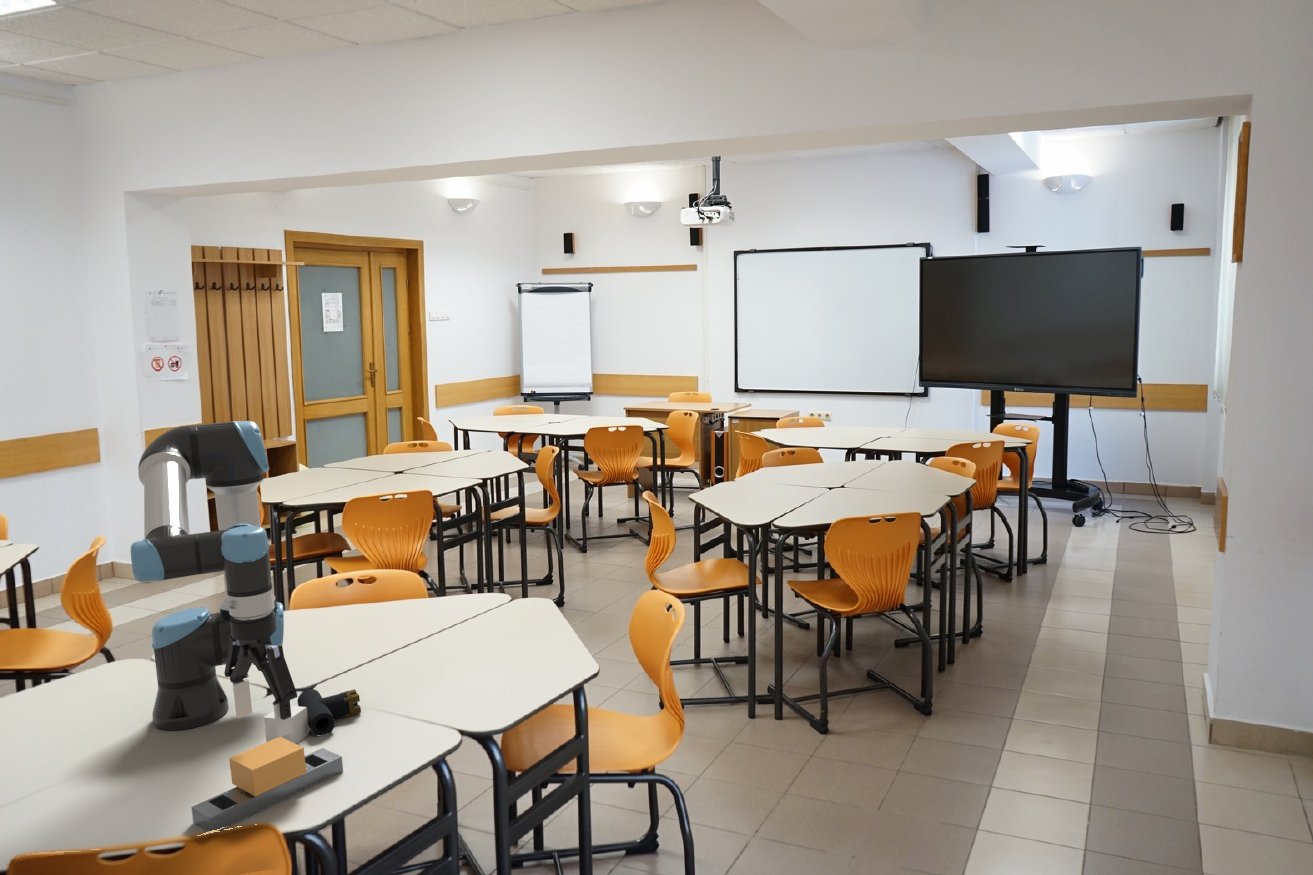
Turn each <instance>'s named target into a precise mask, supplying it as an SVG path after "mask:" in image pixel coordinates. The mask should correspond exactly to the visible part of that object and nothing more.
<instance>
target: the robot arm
mask: <svg viewBox="0 0 1313 875" xmlns="http://www.w3.org/2000/svg"><path fill="white" fill-rule="evenodd" d="M266 452H267V451H266V448H265V443H264V440H263V436H262V433H261V430H260V427H259V425H258V424H257V423H256V422H254V421H251V420H238V421H237V420H232V421H225V422H222V421H221V422H213V423H205V424H204V423H203V424H195V425H194V424H192V425H181V426H177V427H173V428H171V429H169V430H167V431H165V432H164V433H162V434H160V435H159V436H157V437H156V438H155V439H154V440H153V441H152V442H150V444H149V445H148V446H147V447H146V449H145V450H144V451H143V453H142V454H141V457H140V460H139V462H138V472H137V473H138V479H139V481H140V483H141V484H142V486H143V493H144V494H143V500H144V501H143V507H144V509H143V510H144V512H143V518H144V519H143V520H144V527H143V528H144V529H143V531H144V532H143V533H144V534H143V535H144V536H143V539H142V540H139V541H135V542H132V543H131V545H130V558H131V560H130V561H131V568H132V570H131V571H132V575H133V578H134V579H135V581H137V582H138V583H145V582H146V583H148V582H162V581H166V580H171V579H178V578H186V577H192V576H196V575H205V574H214V573H219V572H220V573H221V572H222V573H223V582H224V589H225V590H224V591H225V597H224V599H223V600H222V601H221V602H220V603H219V612H215V613H211V611H210V610H209V608H207V607H205V606H204V607H203V606H200V607H191V608H190V607H189V608H185V609H181V610H179V611H175V612H173V613H171V614H170V613H169V615H165V616H164V617H163V618H161V619H159V620H158V621H156V622H155V624H154V625H153V627H152V629H151V633H152V634H151V636H152V643H151V647H152V649H153V652H154V655H153V656H154V662H155V671H156V679H157V692H156V697H155V701H154V705H153V709H152V722H153V725H155V726H154V727H155V728H158V729H160V730H164V731H179V730H180V731H181V730H188V729H192V728H193V729H194V728H197V727H198V728H199V727H200V726H204V725H207V724H210V723H212V722H214V721H217V720H219V719H220V718H221V717H223V716H224V715H225V714H227V712H228V711H229V708H230V707H229V699H228V696H227V694H226V692H225V690H224V688H223V687H222V685H221V683H220V681H219V679H218V677H217V669H216V667H219V666H223V665H224V666H225V668H224V673H223V674H224V676H225V677H226V678H229V680H230V683H232V690H233V698H234V707H235V708H234V709H235V716H236V718H238V719H240V718H242V717H244V716H247V715H249V714H253V707H252V706H253V705H252V698H251V688H250V680H249V679H248V678H249V677H250V676H249V674H248V673H249V670H250V669H251V667H252V665H253V666H255V667H256V669H257V671H259V672H261V674H262V676H263V677H264V679H265V681H266V683H267V685H268V688H269V689H270V691H271V694H272V695H273V698H274V701H273V702H272V705H273V711H274V716H275V725H276V735H277V737H278V738H280V737H282V736H284V735H287V734H289V733H291V732H293V728H292V718H291V707H290V706H291V701H292V700H293V699H296V698H298V692H297V690H296V686H295V684H294V681H293V678H292V676H291V672H290V669H289V667H288V663H287V662H286V659H285V654H284V649H283V643H284V633H285V619H284V618H285V617H284V612H285V611H284V605H283V603H281V602H279V601H277V600H276V596H275V595H274V589H273V583H272V572H271V559H270V551H269V550H270V544H269V540H268V535H267V530H266V529H265V528H264V527H262V526H261V517H260V516H261V515H260V507H259V498H258V496H259V495H258V487H259V486H260V484H262V482H263V481H264V473H266V472H269V471H270V466H269V462H268V461H269V460H268V455H267V453H266ZM198 479H199V480H200V479H204V480H205V486H206V488H208V489H209V490H210V491H212V492H213V493H214V498H215V499H214V500H215V509H216V517H217V526H218V530H214V531H208V532H207V531H206V532H197V533H192V534H191V533H190V524H189V523H190V521H189V510H188V509H189V508H188V493H187V484H188V482H189V480H198Z"/></svg>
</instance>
